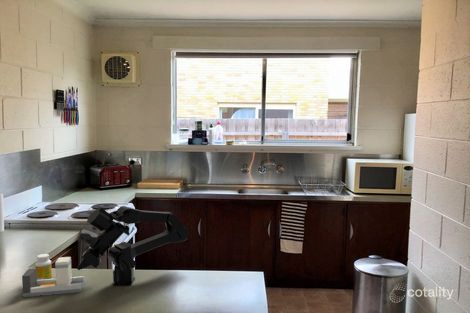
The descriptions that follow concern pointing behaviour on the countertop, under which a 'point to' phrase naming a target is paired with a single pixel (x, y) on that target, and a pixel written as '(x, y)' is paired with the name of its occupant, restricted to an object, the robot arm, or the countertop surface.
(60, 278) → the cream banded box
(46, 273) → the supplement bottle
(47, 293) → the track
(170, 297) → the countertop surface
